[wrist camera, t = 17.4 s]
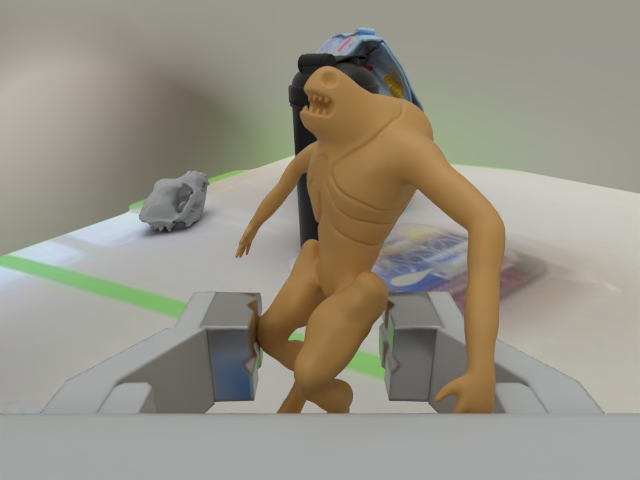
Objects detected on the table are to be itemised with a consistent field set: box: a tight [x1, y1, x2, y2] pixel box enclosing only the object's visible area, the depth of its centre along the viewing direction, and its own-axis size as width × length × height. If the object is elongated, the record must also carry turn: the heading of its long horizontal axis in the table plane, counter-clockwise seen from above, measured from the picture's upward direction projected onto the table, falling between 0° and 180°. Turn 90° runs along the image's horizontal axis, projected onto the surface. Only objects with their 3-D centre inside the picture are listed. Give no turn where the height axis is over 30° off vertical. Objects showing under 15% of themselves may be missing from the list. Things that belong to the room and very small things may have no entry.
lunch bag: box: [316, 28, 424, 113], centre depth 72 cm, size 22×17×26 cm
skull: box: [139, 171, 210, 232], centre depth 64 cm, size 8×9×12 cm
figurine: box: [235, 66, 505, 413], centre depth 9 cm, size 8×6×12 cm
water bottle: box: [289, 53, 379, 248], centre depth 52 cm, size 10×10×23 cm
